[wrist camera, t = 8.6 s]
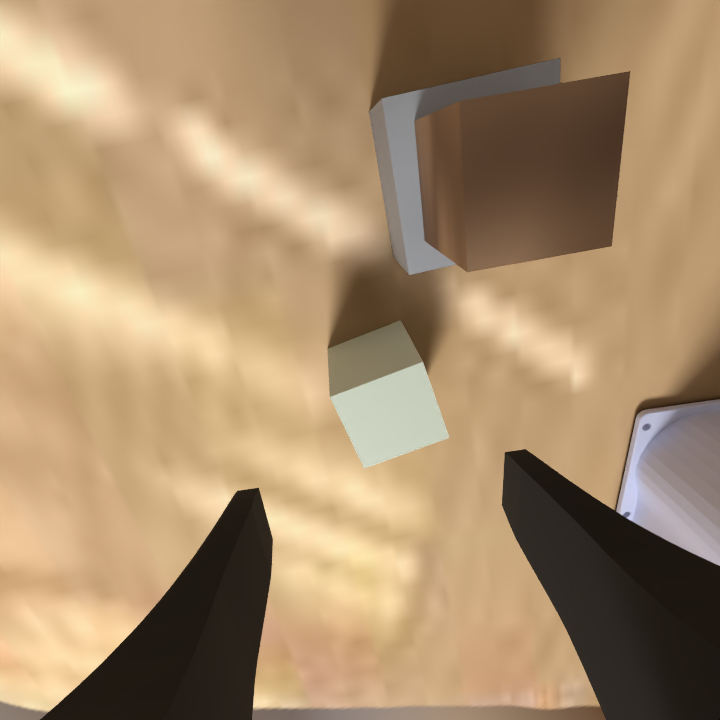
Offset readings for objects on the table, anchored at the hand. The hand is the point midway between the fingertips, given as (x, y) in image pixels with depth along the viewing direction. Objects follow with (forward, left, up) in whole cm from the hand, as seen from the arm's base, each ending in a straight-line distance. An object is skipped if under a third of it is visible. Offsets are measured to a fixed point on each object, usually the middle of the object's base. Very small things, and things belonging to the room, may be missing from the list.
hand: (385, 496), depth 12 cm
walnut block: (+8, -5, -7) cm, 11 cm away
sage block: (-1, -1, -10) cm, 11 cm away
